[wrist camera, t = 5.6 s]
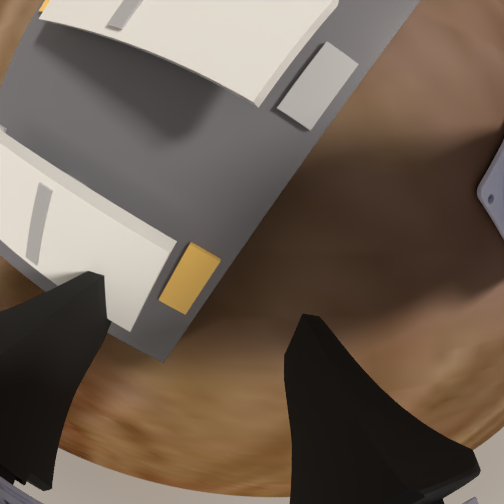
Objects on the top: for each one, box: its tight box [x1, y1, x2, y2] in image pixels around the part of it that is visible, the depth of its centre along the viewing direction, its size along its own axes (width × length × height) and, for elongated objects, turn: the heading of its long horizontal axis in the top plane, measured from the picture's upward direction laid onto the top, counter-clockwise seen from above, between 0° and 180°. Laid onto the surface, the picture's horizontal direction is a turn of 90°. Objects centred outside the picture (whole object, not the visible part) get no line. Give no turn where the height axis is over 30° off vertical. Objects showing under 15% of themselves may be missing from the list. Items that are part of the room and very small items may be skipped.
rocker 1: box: [0, 130, 177, 332], centre depth 8 cm, size 9×4×1 cm, turn 57°
